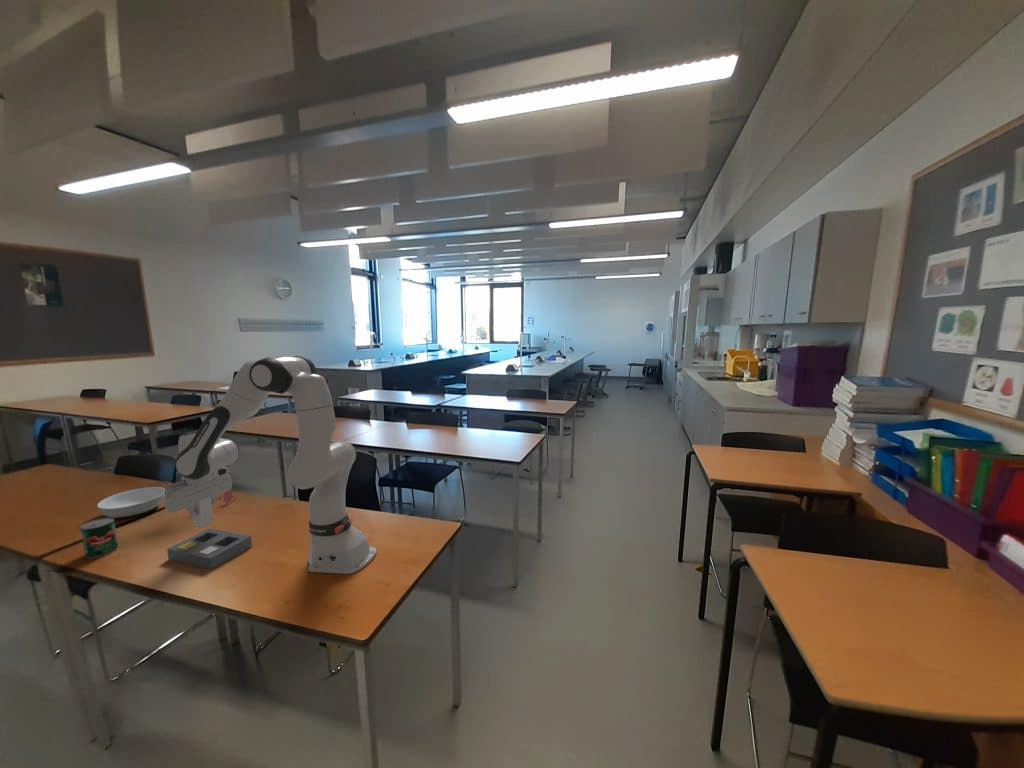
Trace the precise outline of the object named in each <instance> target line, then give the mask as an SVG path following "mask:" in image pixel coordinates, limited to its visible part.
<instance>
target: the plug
mask: <svg viewBox="0 0 1024 768" xmlns="http://www.w3.org/2000/svg"><path fill="white" fill-rule="evenodd" d="M192 509H193V510H197V511H198V515H197V516H195V517H192V524H193V527H195V528H200V529H203V528H206V527H207V526H208V527H209V525H212V524H214V511H213V509H212V502H211V496H210V497H208V498H205V499H203V500H201V501H199V503H197V504H195V505H194V508H192Z"/></svg>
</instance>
